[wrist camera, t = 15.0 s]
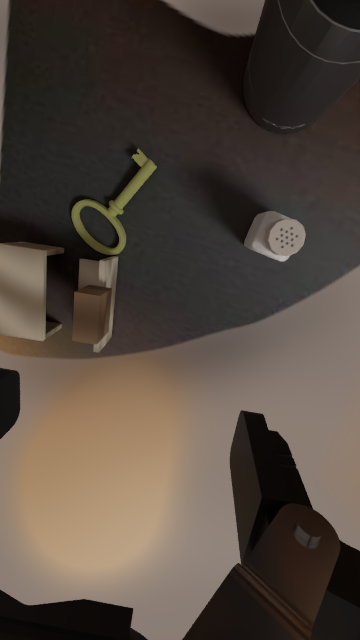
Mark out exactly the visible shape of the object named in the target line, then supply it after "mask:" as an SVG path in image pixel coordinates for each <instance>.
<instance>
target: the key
mask: <svg viewBox="0 0 360 640" xmlns="http://www.w3.org/2000/svg"><path fill="white" fill-rule="evenodd" d="M137 152H138V153H139V155H138V154H136V155H135V154H134V155H133V156H132V158H133V159H134V160H135V161H136V162H137V163H138V164H139V165H140V167H141V169H140V170H139V171H138V173H137V174H136V175H135V176H134V177H133V179H132V180H131V181H130V182H129V184H128V185H127V186H126V187H125V189H124V190H123V191H122V192H121V193H120V195H119V196H118V197H117V198H116V200H115V201H113V200H110V201H109V205H110V207H109V208H108V209H107V208H106V207H105V206H104V205H102V204H100V203H99V202H97V201H94V200H90V199H85V200H81V201H79V202H77V203H76V204H75V205H74V207H73V209H72V220H73V223H74V226H75V228H76V230H77V232H78V233H79V235H80V236H81V237H82V238H83V240H84V241H85V242H86V243H87V244H88V245H90V246H91V247H92V248H93V249H95V250H96V251H98V252H100V253H103V254H106V255H116V254H118V253H120V252H121V251H122V249H123V248H124V246H125V244H126V234H125V231H124V228H123V226H122V224H121V223H120V221H119V220H118V219H117V217H116V216H117V214H123V212H124V211H123V209H122V208H123V207H124V206H125V205H126V204H127V202H128V201H129V200H130V199H131V198H132V196H133V195H134V194H135V193H136V192H137V191H138V189H139V188H140V187H141V186H142V185H143V183H144V182H145V181H146V180H147V179H148V177H149V176H150V175H151V174H152V173H153V171H154V170H155V169H156V168H157V166H156V165H155V164H154V163H153V162H152V161H151V160H150V159H148V158H147V157H146V156H145V155H144V154H143V153H142V152H141V151H140V150H139V149H138V150H137ZM84 206H91V207H94V208H96V209H97V210H99V211H100V212H101V213H103V214H104V215H105V216H106V217H107V218H108V219H109V220H110V222H111V223H112V224H113V225H114V227H115V229H116V230H117V233H118V235H119V244H118V246H117V247H115V248H109V247H106V246H104V245H102V244H100V243H99V242H97V241H96V240H95V239H93V238H92V237H91V236H90V235H89V234H88V232H87V231H86V229H85V228H84V226H83V224H82V222H81V219H80V210H81V209H82V208H83V207H84Z"/></svg>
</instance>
